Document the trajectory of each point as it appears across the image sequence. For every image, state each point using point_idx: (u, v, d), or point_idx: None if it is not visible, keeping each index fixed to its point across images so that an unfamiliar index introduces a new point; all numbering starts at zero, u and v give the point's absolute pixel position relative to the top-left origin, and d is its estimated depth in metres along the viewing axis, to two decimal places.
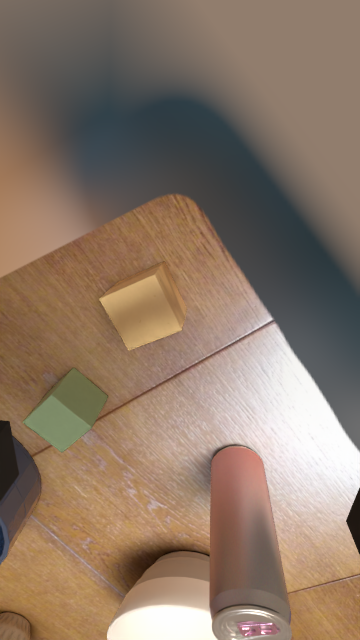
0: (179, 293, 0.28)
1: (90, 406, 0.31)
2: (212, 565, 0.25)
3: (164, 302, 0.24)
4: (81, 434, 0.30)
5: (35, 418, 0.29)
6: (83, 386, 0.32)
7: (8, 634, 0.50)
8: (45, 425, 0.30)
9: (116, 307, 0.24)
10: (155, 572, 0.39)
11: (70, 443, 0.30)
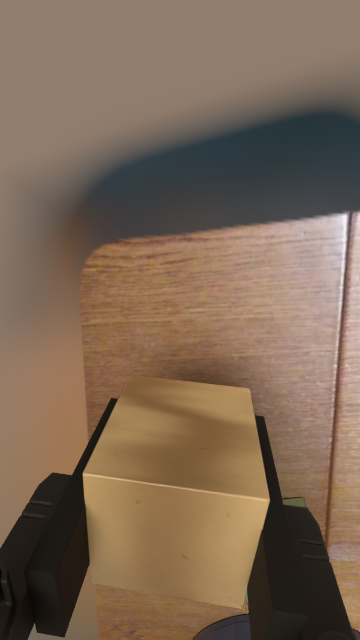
0: (207, 385, 0.12)
1: None
2: None
3: (165, 492, 0.08)
4: None
5: None
6: None
7: None
8: None
9: (125, 571, 0.10)
10: None
11: None
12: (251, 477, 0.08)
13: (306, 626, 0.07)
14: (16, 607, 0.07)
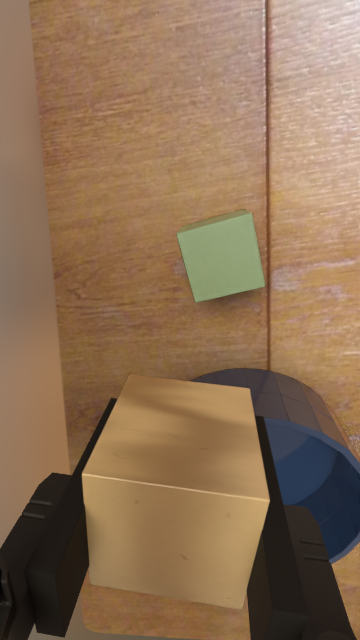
0: (207, 385, 0.12)
1: (230, 215, 0.21)
2: None
3: (165, 492, 0.08)
4: (253, 236, 0.20)
5: (198, 281, 0.21)
6: (207, 220, 0.23)
7: None
8: (214, 276, 0.21)
9: (124, 571, 0.10)
10: None
11: (258, 263, 0.20)
12: (251, 477, 0.08)
13: (306, 626, 0.07)
14: (16, 607, 0.07)
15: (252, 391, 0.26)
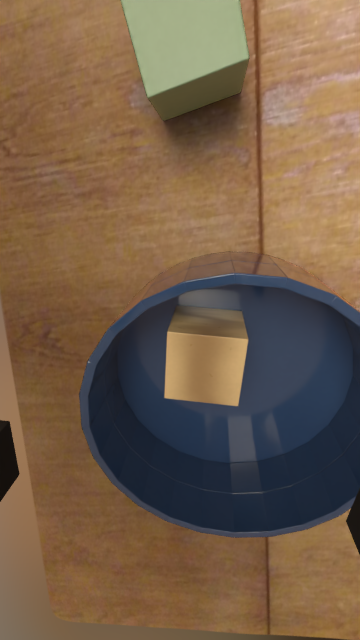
0: (218, 309, 0.23)
1: None
2: None
3: (203, 338, 0.19)
4: None
5: (149, 57, 0.14)
6: None
7: None
8: (172, 44, 0.14)
9: (182, 387, 0.20)
10: None
11: (237, 12, 0.13)
12: (241, 334, 0.19)
13: None
14: None
15: (237, 261, 0.18)
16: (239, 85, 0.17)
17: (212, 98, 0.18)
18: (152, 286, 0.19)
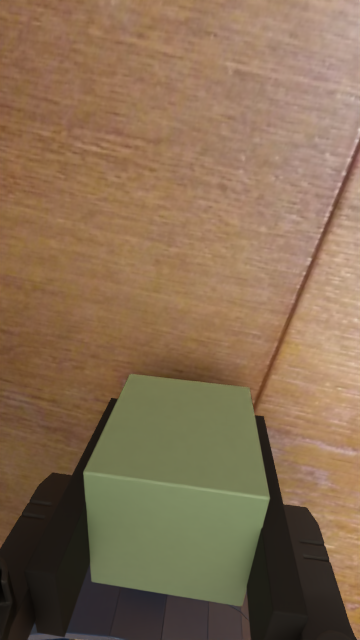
0: None
1: (221, 433, 0.10)
2: None
3: None
4: (254, 534, 0.08)
5: (107, 557, 0.09)
6: (174, 398, 0.11)
7: None
8: (144, 561, 0.09)
9: None
10: None
11: (244, 574, 0.09)
12: None
13: (306, 626, 0.07)
14: (16, 607, 0.07)
15: None
16: None
17: None
18: None
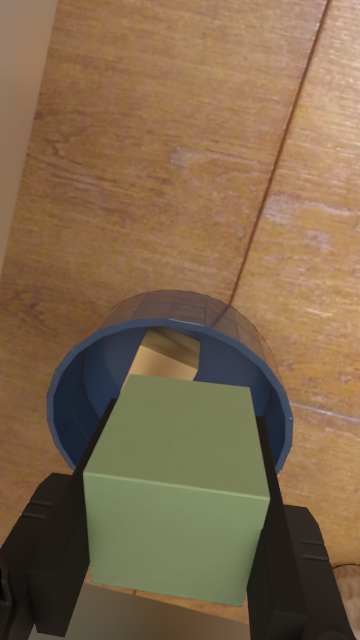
0: (183, 335, 0.29)
1: (221, 433, 0.10)
2: None
3: (165, 359, 0.24)
4: (255, 535, 0.08)
5: (107, 557, 0.09)
6: (174, 398, 0.11)
7: (358, 586, 0.36)
8: (144, 562, 0.09)
9: None
10: None
11: (244, 575, 0.09)
12: (194, 364, 0.25)
13: (306, 626, 0.07)
14: (16, 607, 0.07)
15: (209, 310, 0.24)
16: None
17: None
18: (140, 307, 0.24)
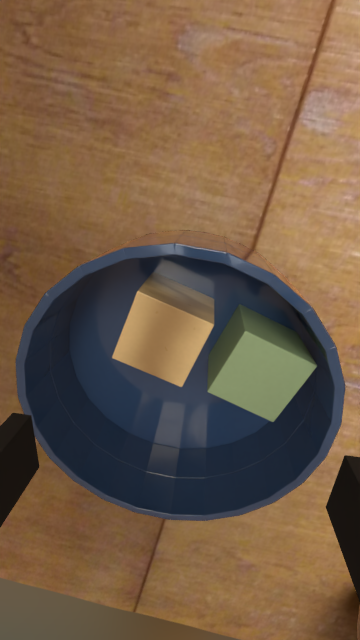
0: (193, 290, 0.23)
1: (276, 326, 0.22)
2: None
3: (171, 310, 0.18)
4: None
5: None
6: (260, 326, 0.20)
7: None
8: None
9: (133, 352, 0.20)
10: None
11: None
12: (208, 318, 0.19)
13: None
14: None
15: (230, 245, 0.18)
16: None
17: None
18: (138, 240, 0.18)
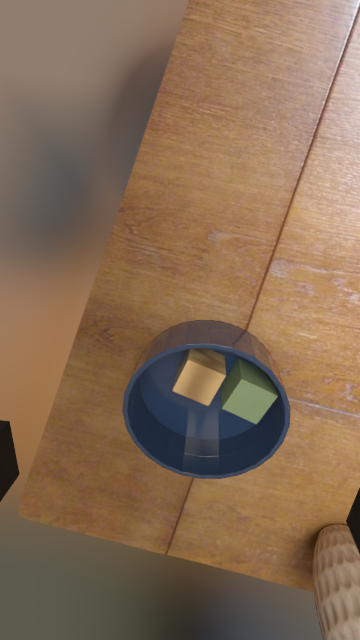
0: (213, 351, 0.41)
1: (258, 372, 0.40)
2: None
3: (204, 368, 0.36)
4: None
5: None
6: (249, 374, 0.38)
7: (341, 537, 0.48)
8: None
9: (183, 388, 0.38)
10: None
11: None
12: (222, 371, 0.37)
13: None
14: None
15: (234, 336, 0.36)
16: None
17: None
18: (188, 334, 0.36)
